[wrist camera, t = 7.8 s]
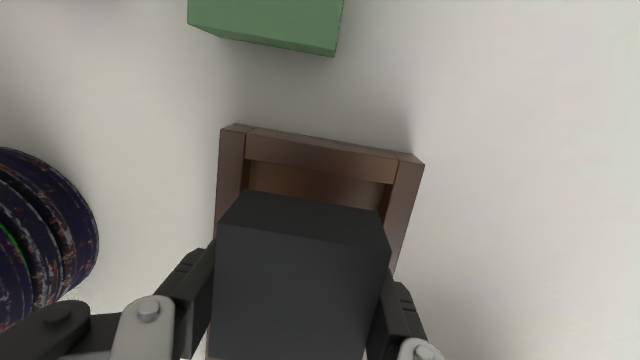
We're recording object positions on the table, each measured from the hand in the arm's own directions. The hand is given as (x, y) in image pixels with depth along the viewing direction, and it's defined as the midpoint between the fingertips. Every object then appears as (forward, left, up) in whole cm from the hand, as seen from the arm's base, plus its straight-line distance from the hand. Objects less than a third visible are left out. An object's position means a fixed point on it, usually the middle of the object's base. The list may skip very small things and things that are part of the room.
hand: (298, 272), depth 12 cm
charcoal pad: (0, 0, -1) cm, 1 cm away
